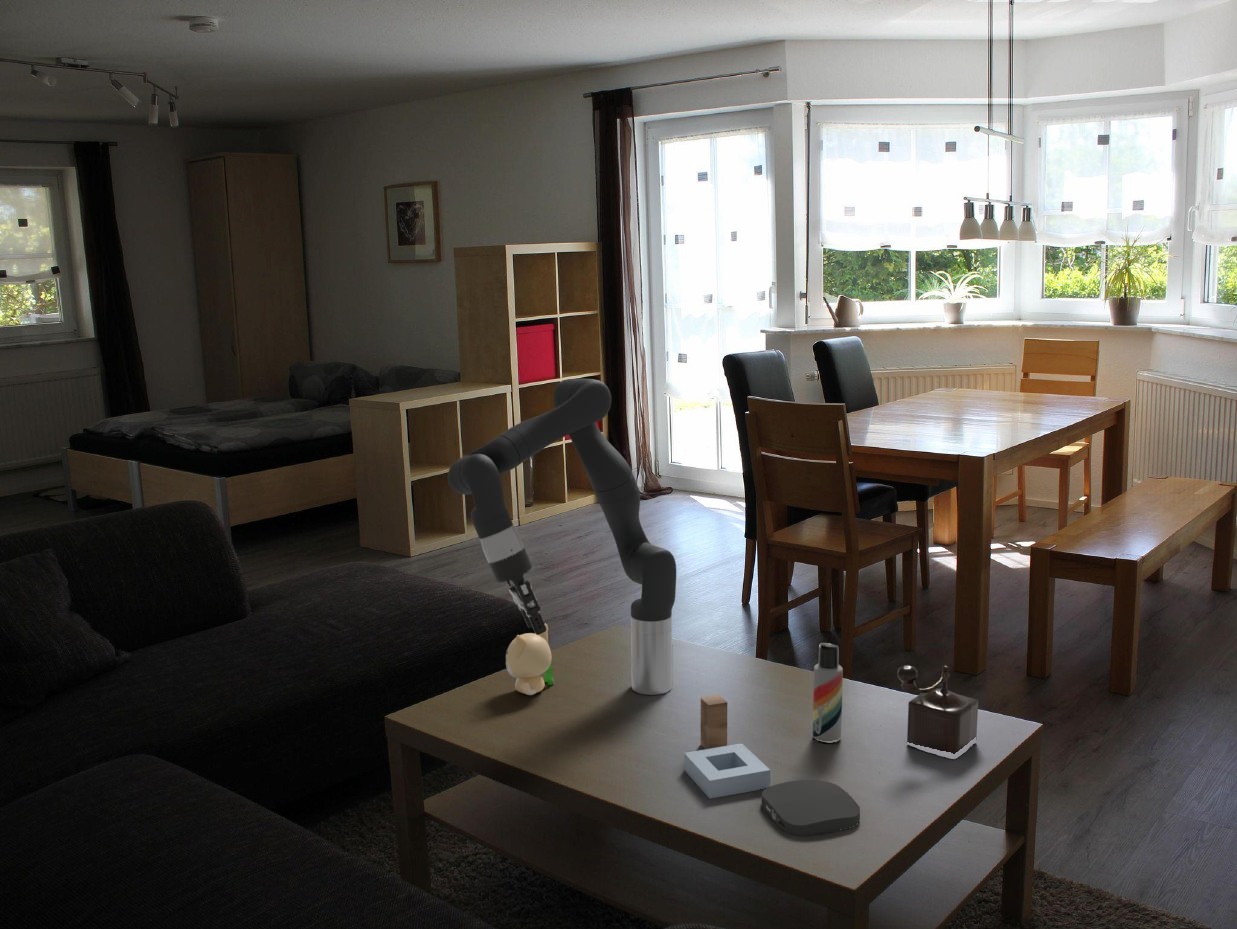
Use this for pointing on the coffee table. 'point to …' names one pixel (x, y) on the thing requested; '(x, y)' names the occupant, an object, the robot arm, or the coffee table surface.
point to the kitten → (530, 662)
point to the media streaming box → (810, 807)
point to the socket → (726, 770)
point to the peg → (713, 722)
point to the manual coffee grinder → (938, 714)
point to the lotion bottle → (827, 694)
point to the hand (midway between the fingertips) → (537, 629)
